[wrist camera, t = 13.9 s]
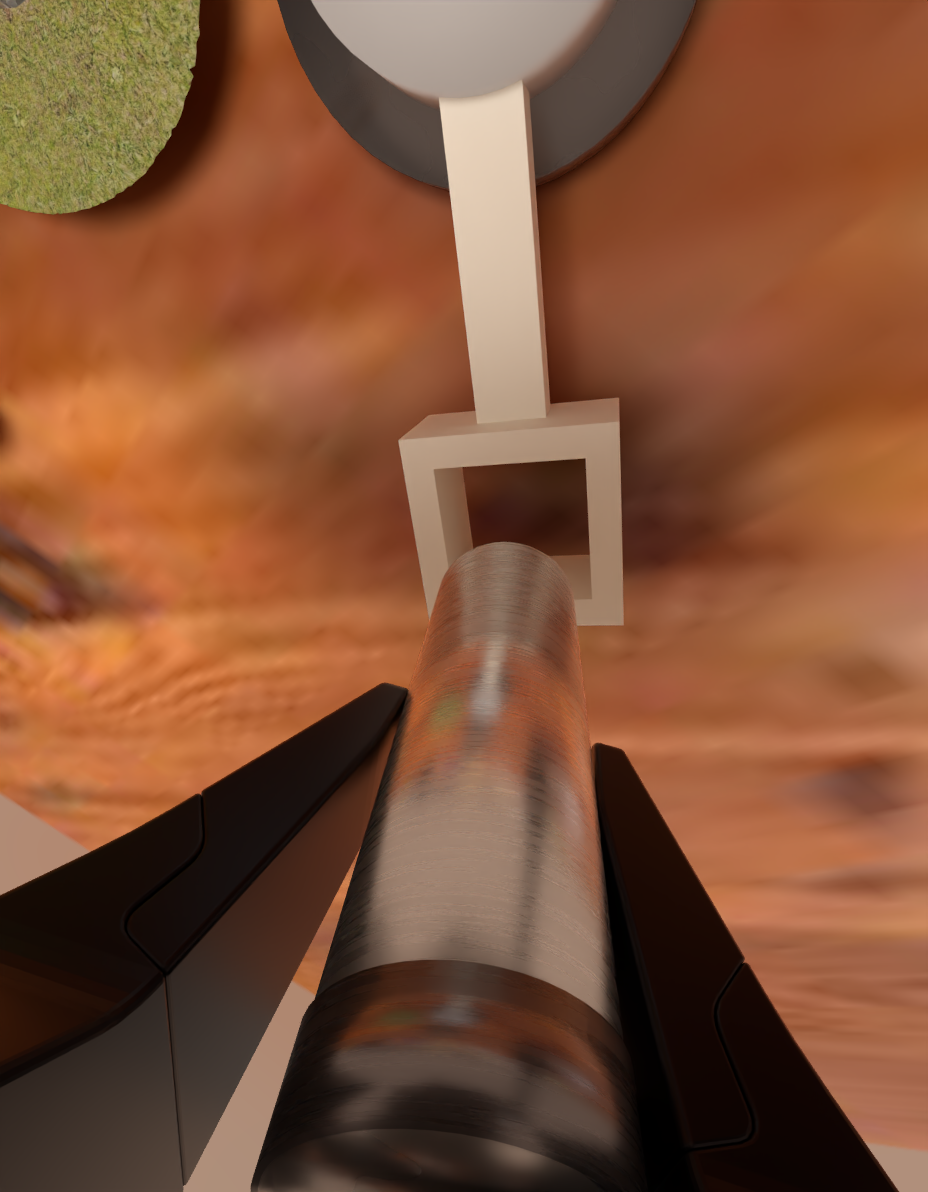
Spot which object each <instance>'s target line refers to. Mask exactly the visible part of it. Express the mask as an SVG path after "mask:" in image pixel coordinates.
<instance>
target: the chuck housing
mask: <svg viewBox="0 0 928 1192" xmlns="http://www.w3.org/2000/svg"><path fill="white" fill-rule="evenodd" d="M277 1H278V4H279V7H280V11H281V14H282V17H283V20H284V24H285V27H286V30H287V33H288V35H289V38H290V40H291V43H292V45H293V47H294V50H295V52H296V55H297V57H298V59H299V62H300V64H301V66H302V68H303V69H304V71H305V73H306V75H307V77H308V79H309V80H310V82H311V84H312V86H313V88H314V90H315V91H316V93H317V94H318V96H319V97H320V98H321V100H322V101H323V103H324V104H325V106H326V107H327V108H328V110H329V111H330V113H331V114H332V116H333V117H334V118H335V119H336V120H337V121H338V122H339V123H340V125H341V126H342V127H343V128H344V129H345V130H346V131H347V132H348V134H349V135H350V136H351V137H352V138H353V139H354V140H356V141H357V142H358V143H359V144H360V145H361V146H362V147H364V148H365V149H366V150H367V151H368V152H369V153H371V154H372V155H373V156H375V157H376V158H378V159H379V160H381V161H382V162H384V163H385V164H387V165H388V166H390V167H391V168H393V169H395V170H397V171H399V172H401V173H403V174H405V175H408V176H410V177H412V178H414V179H416V180H418V181H421V182H424V183H426V184H429V185H431V186H434V187H438V188H441V189H445V190H448V191H450V189H449V181H448V172H447V164H446V155H445V147H444V138H443V130H442V121H441V113H440V110H437V109H434V108H432V107H429V106H427V105H424V104H422V103H419V102H418V101H416V100H414V99H413V98H411V97H409V96H407V95H406V94H404V93H403V92H401V91H400V90H399V89H397V88H396V87H395V86H394V85H392V84H391V83H390V82H388V81H387V80H386V79H384V78H383V77H382V76H381V75H379V74H378V73H377V72H375V71H374V70H373V69H372V68H370V67H369V66H368V65H366V64H365V63H364V62H363V61H361V60H360V59H359V58H358V57H356V56H355V55H354V54H353V53H351V52H350V50H349V49H348V48H347V47H346V46H345V45H344V44H343V43H342V42H341V41H340V40H339V39H338V38H337V37H336V36H335V35H334V33H333V32H332V31H331V29H330V28H329V27H328V25H327V24H326V23H325V21H324V20H323V19H322V17H321V16H320V15H319V13H318V11H317V10H316V8H315V6H314V5H313V3H312V1H311V0H277ZM696 1H697V0H618V1H617V4H616V6H615V8H614V10H613V12H612V13H611V15H610V17H609V18H608V20H607V22H606V24H605V25H604V27H603V29H602V30H601V32H600V34H599V35H598V36H597V38H596V39H595V40H594V42H593V43H592V44H591V46H590V47H589V49H588V50H587V51H586V53H585V54H584V55H583V56H582V57H581V58H580V59H579V60H578V61H577V63H576V64H575V65H574V66H573V67H572V68H571V69H570V70H569V71H568V72H567V73H566V74H565V75H563V76H562V77H561V78H560V79H559V80H558V81H556V82H555V83H554V84H553V85H552V86H550V87H549V88H547V89H546V90H544V91H543V92H541V93H539V94H538V95H536V96H535V97H533V98H531V99H530V112H531V127H532V142H533V157H534V171H535V186H539V185H542V184H545V183H548V182H550V181H552V180H554V179H556V178H558V177H560V176H562V175H564V174H566V173H568V172H570V171H572V170H574V169H575V168H576V167H578V166H579V165H581V164H582V163H584V162H585V161H587V160H588V159H589V158H591V157H592V156H594V155H595V154H597V153H598V152H599V151H600V150H601V149H602V148H603V147H604V146H606V145H607V144H608V143H609V142H610V141H611V140H612V139H613V138H614V137H616V136H617V135H618V134H619V133H620V132H621V131H622V129H623V128H624V127H625V126H626V125H627V124H628V123H629V121H630V120H631V119H632V118H633V117H634V116H635V115H636V114H637V112H638V111H639V110H640V109H641V107H642V106H643V105H644V103H645V102H646V100H647V99H648V97H649V96H650V95H651V93H652V92H653V90H654V89H655V88H656V86H657V85H658V83H659V82H660V80H661V78H662V76H663V75H664V73H665V71H666V69H667V67H668V66H669V64H670V62H671V60H672V58H673V57H674V55H675V53H676V51H677V49H678V47H679V44H680V42H681V40H682V37H683V35H684V33H685V31H686V28H687V26H688V24H689V21H690V19H691V16H692V13H693V10H694V7H695V4H696Z"/></svg>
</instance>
